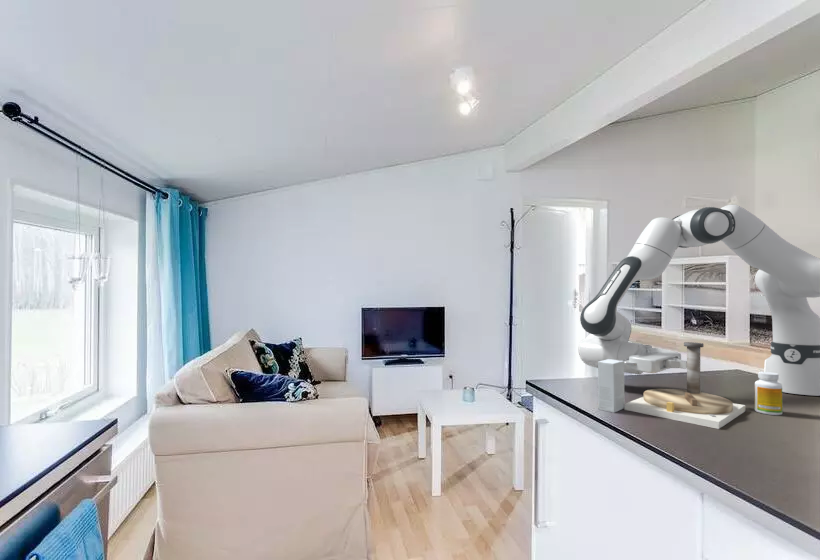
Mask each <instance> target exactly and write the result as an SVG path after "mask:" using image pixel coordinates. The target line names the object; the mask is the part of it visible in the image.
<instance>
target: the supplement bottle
mask: <svg viewBox="0 0 820 560" xmlns="http://www.w3.org/2000/svg"><path fill="white" fill-rule="evenodd" d="M757 377H758V380H756V381H755V382H754V411H755V412H757V413H760V414H763V415H768V416H781V415H783V392H782V385H781V384H780V383H779V382H778V381H777V380H779V374H777V373H772V372H764V371H758V373H757Z"/></svg>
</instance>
